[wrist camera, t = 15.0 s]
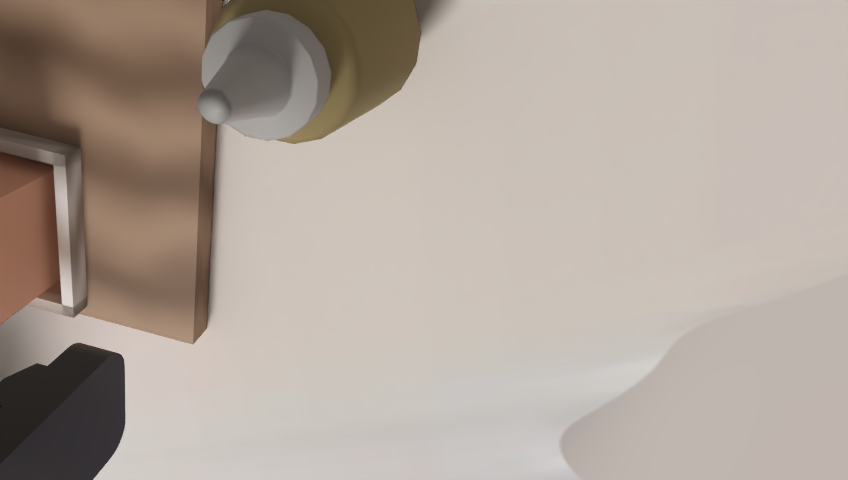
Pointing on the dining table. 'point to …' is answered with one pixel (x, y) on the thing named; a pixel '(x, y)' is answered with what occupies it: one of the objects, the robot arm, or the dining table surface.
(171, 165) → the brown wooden tray
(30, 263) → the carton
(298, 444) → the dining table surface
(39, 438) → the robot arm
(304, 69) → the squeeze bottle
